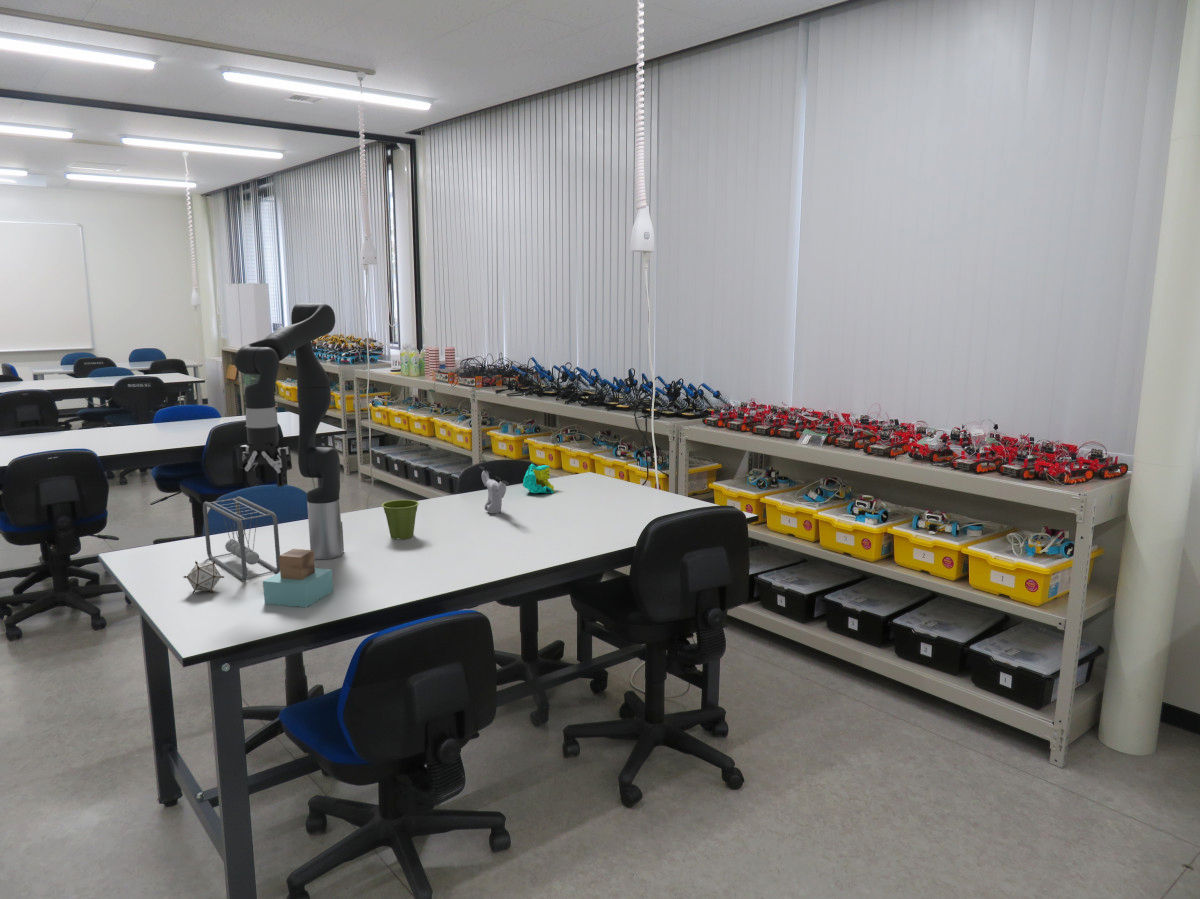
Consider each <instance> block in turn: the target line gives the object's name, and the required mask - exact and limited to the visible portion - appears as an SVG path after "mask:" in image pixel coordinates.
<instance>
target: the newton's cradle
mask: <svg viewBox="0 0 1200 899" xmlns="http://www.w3.org/2000/svg"><path fill="white" fill-rule="evenodd" d="M228 501H234V502H232V503H230V505H232V504H235V505H234V506H231V508H232V507H235V508H233V510H231V509H228V508H229V507H224V506H227V505H228V504H227V503H226V504H224V506H223V505H222V504H218V503H223V502H228ZM243 506H244V507H245V509H246V511H245V512H246V513H245V514H243V512H244V510H243ZM208 508H210V509H211V510H214V511H215V512H217V513H219V514H220V515H222V516H223V520H224V523H225V527H226V531H227V533H228V534H227V535H228V537H229V540H228V541H227V542H225V545H224V547H225V549H226V551H227V552H228V553H224V554H219V555H215V556H213V553H212V549H211V538H210V537H211V536H210V528H209V526H210V525H209V524H210V523H209V517H208V516H209V515H208ZM249 509H250V510H251V512H250V513H249V514H250V517H248V516H247V515H248V512H249V511H250V510H249ZM234 510H235V512H234ZM253 511H254V514H256V516H253ZM258 513H259V514H261V515H258ZM202 514H203V525H204V536H205V546H206V547H205V548H206V555H207V557H208V559H209V560H211V561H212V560H213V561H215V563H214V564H216V565H218V566H220V568H223V569H224V570H226V571H227V572H228V571H229V573H230V574H231V573H232V574H231V575H233V576H234V575H235V577H238V578H237V579H239V580H240V579H241V580H240V581H242V580H243V582H244V580H245V581H246V580H247V579H250V578H255V577H259V576H263V575H268V574H271V573H276V574H278V572H279V573H280V562H279V555H281V551H280V549H281V548H280V536H279V535H280V534H279V525H278V522H279V521H278V517H277V514H276V513H275V512H274V511H272V510H270V509H267V508H265V507H263V506H261V505H258V504H257V503H254V502H252V501H250V500H248V499H247V498H244V497H242V496H237V497H234V498H228V499H223V500H222V499H221V500H217V501H210V502H209V501H204V502H203V503H202ZM244 515H245V517H244ZM267 516H270V517H272V523H273V535H274V536H273V537H274V548H275V563H276V565H275V566H276V567H275V566H273V565H272V564H271V563H268V562H267V561H264V560H263V559H261V557H260V554H259V553H258V552H257V551H254V549H255V543H252V544H253V545H252V546H253V547H252V549H251V548H250V544H249V543H250V539H248V538H250V535H251V531H249V534H248V537H247V535H246V528H245V526H247V524H246V523H247V520H252V519H256V520H255V524H257V523H258V522H257V521H258V518H261V517H267ZM225 517H226V518H227V521H228V524H229V527H230V530H231V531H230V532H231V534H232V539H231V536H230V533H229V529H228V526H227V523H226V519H225ZM230 520H232V524H233V527H234V528H233V529H232V525H231V523H230ZM243 521H244V525H243ZM235 523H236V524H237V529H236V524H235ZM251 527H252V522H250V524H249V529H252V528H251ZM254 528H255V530H254V533H256V530H257V526H255V527H254ZM233 530H234V531H233ZM235 533H236V536H237V540H235ZM245 539H246V542H247V546H246V545H245ZM255 540H256V534H254V537H253V541H255ZM230 555H234V556H236V557H237V558H238V559H240V560H241V571H242V574H241V573H239V572H238V571H236V570H235V569H233V568H231V567H230V566H228V565H227V564H225V563H224V562H223V561H221V560H219V559H218V558H219V557H224V556H230ZM213 561H212V562H213ZM257 563H259V564H261V565H262V564H263V565H262V566H264V567H266V568H267V567H268V568H267V569H268V570H271V571H267V572H263V573H258V574H254V575H249V576H248V568H247V564H248V565H250V566H251V565H255V564H257ZM272 570H273V571H272Z"/></svg>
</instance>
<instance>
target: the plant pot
mask: <svg viewBox="0 0 1200 899" xmlns="http://www.w3.org/2000/svg"><path fill="white" fill-rule="evenodd" d="M419 505H420V502H419V501H417V500H413V499H395V500H389V501H385V502H383V503H382V504H381V507H382V508H383V511H384V514H385V516H386V522H387V526H388V531H389V534H390V539H393V540H402V541H403V540H406V539H409V540H410V539H411V538H412V537H413V536H414V534H415V533H414V532H415V524H416V516H417V511H418V507H419Z"/></svg>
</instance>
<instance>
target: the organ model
mask: <svg viewBox="0 0 1200 899" xmlns="http://www.w3.org/2000/svg"><path fill="white" fill-rule="evenodd" d="M550 471H551V468H550V466H549V465H546V464H544V465H538V466H536V465H535V464H534V463H531V464H530V465H529V466H528V469H527V470H526V472H525V475H524V477H523V482H522V487H523V488H524V489H526V490H528V491H530V493H533V494H538V493H540V494H542V493H543V494H555V492H556V491H555V487H554V485H553V484H552V483H551V482H550V481H549V479H551V477H550V475H551V473H550Z"/></svg>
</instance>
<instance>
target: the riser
mask: <svg viewBox="0 0 1200 899" xmlns="http://www.w3.org/2000/svg"><path fill="white" fill-rule="evenodd" d="M333 582H334V581H333V569H329V568H316V567H315V573H313V574H311V575H310V576H308V577H306V578H304V579H302V580H296V579H285V578H281V575H280V572H279V573H276V574H273V575H272V576H270V577H267V578H266V579H264V580H262V586H263V597H264V598H263V599H264V604H265V603H266V604H265V605H274V604H276V606H284V605H288V606H287V607H294V606H299V607H298V608H304V607H307V608H309V607H310V606H312V605H313V604H315V603H316V601H317V602H318V601H320V600H322V599H323V598H324V596H325V597H326V596H328V595H330V594H331V593H333V592H334V585H333ZM329 593H330V594H329ZM322 597H323V598H322ZM319 599H320V600H319ZM311 604H312V605H311ZM309 605H310V606H309ZM308 606H309V607H308Z"/></svg>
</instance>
